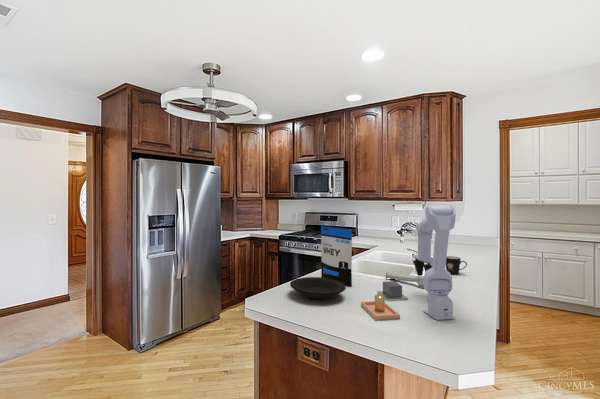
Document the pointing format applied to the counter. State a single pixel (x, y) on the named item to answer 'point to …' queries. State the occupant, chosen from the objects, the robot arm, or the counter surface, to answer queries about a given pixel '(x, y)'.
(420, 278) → the pale grey long piece
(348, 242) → the protein powder
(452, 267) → the coffee mug
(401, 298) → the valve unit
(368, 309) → the terracotta tray
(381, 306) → the cylinder
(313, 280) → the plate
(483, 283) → the counter surface
